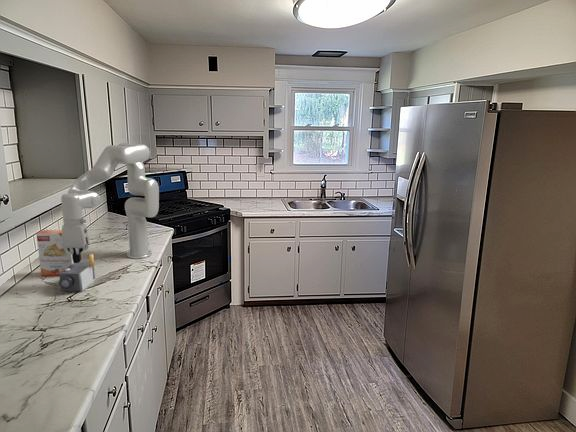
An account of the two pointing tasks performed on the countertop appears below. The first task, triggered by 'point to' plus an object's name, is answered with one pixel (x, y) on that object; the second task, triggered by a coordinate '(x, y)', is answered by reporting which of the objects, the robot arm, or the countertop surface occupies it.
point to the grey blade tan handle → (86, 274)
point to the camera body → (72, 276)
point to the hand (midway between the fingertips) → (77, 262)
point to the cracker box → (52, 253)
